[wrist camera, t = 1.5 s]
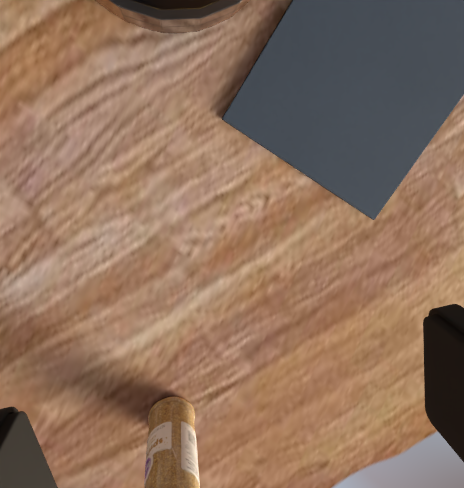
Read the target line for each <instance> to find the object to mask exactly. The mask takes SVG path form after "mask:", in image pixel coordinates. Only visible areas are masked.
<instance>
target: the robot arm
mask: <svg viewBox="0 0 464 488" xmlns="http://www.w3.org/2000/svg"><path fill="white" fill-rule="evenodd" d="M423 332H424V380H425V410H426V413H427V416H428V418H429V420H430V422H431V423H432V425H433V426H434V427H435V428H436V429H437V431H438V432H439V433H440V434H441V435H442V436H443V438H444V439H445V440H446V441H447V443H448V444H449V445H450V446H451V447H452V449H453V450H454V451H455V452H456V453H457V455H458V456H459V457H460V458H461V459H462V461H463V462H464V308H463V307H461V306H460V305H457V304H452V305H448V306H443V307H439V308H435V309H432V310H430V312H429V316H428V317H425V318H424V322H423ZM0 488H58V487H57V485H56V483H55V480H54V478H53V476H52V473H51V471H50V469H49V466H48V464H47V462H46V459H45V457H44V454H43V452H42V450H41V447H40V445H39V443H38V440H37V438H36V436H35V433H34V431H33V428H32V426H31V424H30V421H29V419H28V417H27V415H26V413H25V412H23V411H20V412H18V410H17V409H16V408H15V407H8V408H3V409H0Z"/></svg>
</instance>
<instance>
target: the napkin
mask: <svg viewBox="0 0 464 488" xmlns="http://www.w3.org/2000/svg"><path fill="white" fill-rule="evenodd" d="M463 95H464V0H292V2H291V3H290V5H289V7H288V8H287V10H286V12H285V13H284V15H283V17H282V18H281V20H280V22H279V23H278V25H277V27H276V28H275V30H274V32H273V34H272V35H271V37H270V39H269V40H268V42H267V44H266V45H265V47H264V49H263V50H262V52H261V54H260V55H259V57H258V59H257V60H256V62H255V64H254V65H253V67H252V69H251V70H250V72H249V74H248V76H247V77H246V79H245V81H244V82H243V84H242V86H241V87H240V89H239V91H238V92H237V94H236V96H235V97H234V99H233V101H232V102H231V104H230V106H229V107H228V109H227V111H226V112H225V114H224V116H223V118H222V120H224V121H225V122H227V123H228V124H230V125H231V126H233V127H234V128H236V129H237V130H239V131H240V132H242V133H243V134H245V135H246V136H248V137H249V138H251V139H252V140H254V141H255V142H257V143H258V144H260V145H261V146H263V147H264V148H266V149H267V150H269V151H270V152H272V153H273V154H275V155H276V156H278V157H279V158H281V159H282V160H284V161H285V162H287V163H288V164H290V165H291V166H293V167H294V168H296V169H297V170H299V171H300V172H302V173H303V174H305V175H306V176H308V177H309V178H311V179H312V180H314V181H315V182H317V183H318V184H320V185H321V186H323V187H325V188H326V189H328V190H329V191H331V192H332V193H334V194H335V195H337V196H338V197H340V198H341V199H343V200H344V201H346V202H347V203H349V204H350V205H352V206H353V207H355V208H356V209H358V210H359V211H361V212H362V213H364V214H365V215H367V216H368V217H370V218H371V219H373V220H375V218H376V217H377V215H378V214H379V213H380V211H381V210H382V208H383V207H384V206H385V204H386V203H387V201H388V200H389V199H390V197H391V196H392V194H393V193H394V191H395V190H396V189H397V187H398V186H399V184H400V183H401V182H402V180H403V179H404V177H405V176H406V175H407V173H408V172H409V170H410V169H411V168H412V166H413V165H414V163H415V162H416V161H417V159H418V158H419V156H420V155H421V154H422V152H423V151H424V149H425V148H426V147H427V145H428V144H429V142H430V141H431V140H432V138H433V137H434V135H435V134H436V133H437V131H438V130H439V128H440V127H441V126H442V124H443V123H444V121H445V120H446V119H447V117H448V116H449V114H450V113H451V112H452V110H453V109H454V107H455V106H456V104H457V103H458V102H459V100H460V99H461V97H462V96H463Z"/></svg>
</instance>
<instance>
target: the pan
mask: <svg viewBox="0 0 464 488" xmlns="http://www.w3.org/2000/svg"><path fill="white" fill-rule="evenodd" d="M95 1H96V2H98V3H99V4H101V5H102V6H104V7H105V8H106V9H107V10H109V11H110V12H112V13H113V14H115V15H117V16H118V17H120V18H121V19H123V20H124V21H126V22H128V23H131V24H134V25H136V26H139V27H142V28H146V29H149V30H152V31H157V32H161V33H162V32H163V33H187V32H197V31H200V30H203V29H205V28H209V27H212V26H214V25H216V24H218V23H220V22H222V21H225V20H227V19H229V18H230V17H232V16H233V15H234V14H236V13H237V12H238V11H239V10H240V9H241V8H242V7H243V6H245V5H246V4H247V3H248V2H249V1H250V0H95Z"/></svg>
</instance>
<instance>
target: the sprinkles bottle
mask: <svg viewBox="0 0 464 488" xmlns="http://www.w3.org/2000/svg"><path fill="white" fill-rule="evenodd" d="M194 419H195V412H194V408H193V407H192V405H191V404H190V403H189V402H188V401H187V400H185V399H182V398H180V397H167V398H165V399H161V400H160V401H158V402H156V403H155V404H154V406H153V407H152V408H151V410H150V412H149V415H148V422H149V432H148V441H147V453H146V467H145V484H144V485H145V488H200V483H199V470H198V457H197V443H196V434H195V430H194Z"/></svg>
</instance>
